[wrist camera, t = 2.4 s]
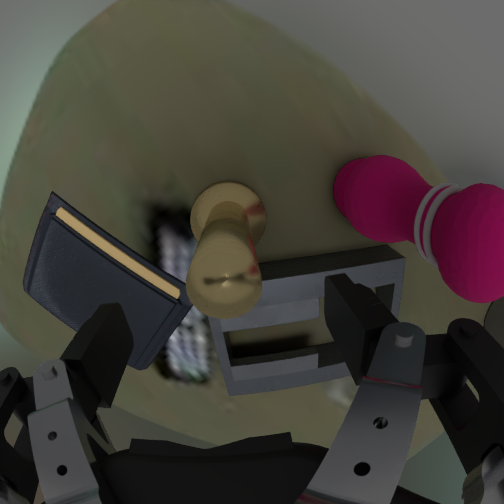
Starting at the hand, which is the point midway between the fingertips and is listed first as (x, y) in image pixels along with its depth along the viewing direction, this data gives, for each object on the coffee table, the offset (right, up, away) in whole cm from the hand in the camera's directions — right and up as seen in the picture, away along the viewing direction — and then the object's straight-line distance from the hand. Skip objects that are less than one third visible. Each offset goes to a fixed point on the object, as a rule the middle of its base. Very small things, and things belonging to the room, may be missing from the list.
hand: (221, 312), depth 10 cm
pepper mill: (+12, +8, +15) cm, 21 cm away
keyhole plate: (+6, -5, +19) cm, 21 cm away
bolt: (-1, +6, +15) cm, 16 cm away
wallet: (-16, -2, +18) cm, 24 cm away
